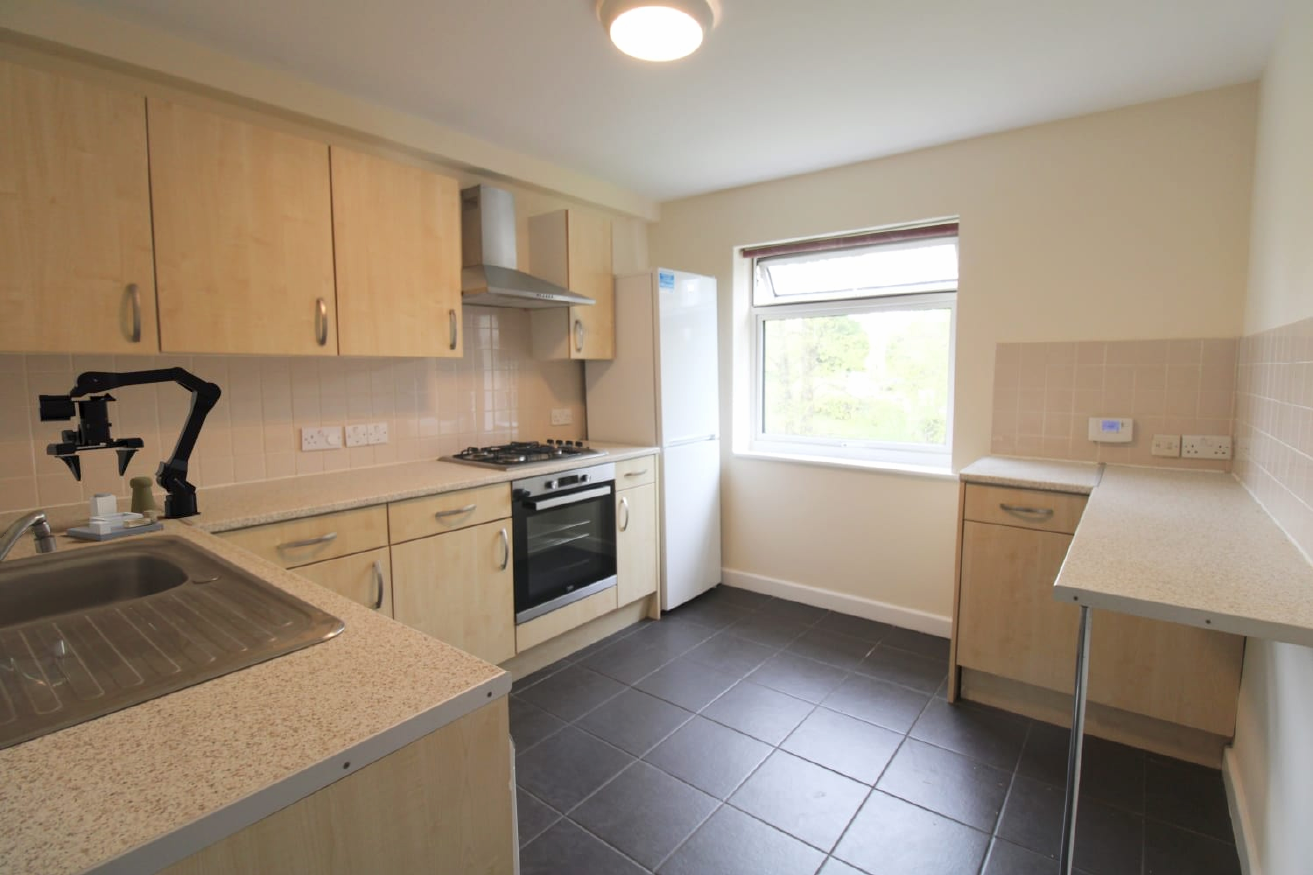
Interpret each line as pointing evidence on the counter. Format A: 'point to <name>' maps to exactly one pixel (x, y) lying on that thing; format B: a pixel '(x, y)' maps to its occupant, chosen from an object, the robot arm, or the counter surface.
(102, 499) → the white upright block
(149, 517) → the latch bolt
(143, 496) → the olive pepper mill
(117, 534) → the plate
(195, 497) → the robot arm
